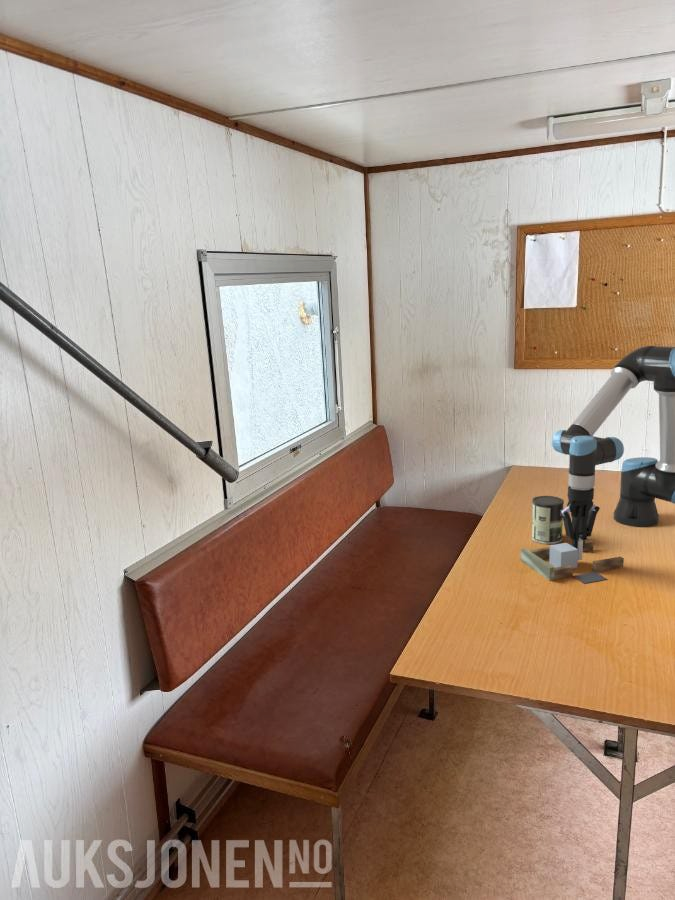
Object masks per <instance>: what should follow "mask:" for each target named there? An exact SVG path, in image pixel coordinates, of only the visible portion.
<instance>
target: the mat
mask: <svg viewBox="0 0 675 900" xmlns="http://www.w3.org/2000/svg"><path fill="white" fill-rule="evenodd" d="M572 577H573V578H574V579H575V580H578V582H581V583H582V584H589V583H595V582H601V581H607V580H608V578H607V577H605V576H603V575H602V574H600V573H599V572H594V571H592V572H587V573H581V574H574V575H573V576H572Z"/></svg>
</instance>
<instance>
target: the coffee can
mask: <svg viewBox="0 0 675 900" xmlns="http://www.w3.org/2000/svg"><path fill="white" fill-rule="evenodd" d="M531 502H532V512H531V513H532V517H531V539H532V540H533V541H534V542H535V543H539V544H542V545H543V544H544V545H556V544H561V542H562V541H563V526H564V521H563V516H562V515H561V513H560V510H561V509H563V510H564V504H565V499H563V498H561V497H557V496H552V495H539V496H534V497H533V498H532V499H531Z"/></svg>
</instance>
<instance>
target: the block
mask: <svg viewBox="0 0 675 900" xmlns="http://www.w3.org/2000/svg"><path fill="white" fill-rule="evenodd" d="M571 545H572V544H570V543H568V542H562V543H557V544H549V547H550V556H549V558H548V559H549V562H548V563H549V564H550V565H552V566H553V567H554V568H557V567H563V566H569V565H570V566H572V567H573V569H577V568H578V561H579V560H578V549H576V548H575V547H573V546H571Z"/></svg>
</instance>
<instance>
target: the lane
mask: <svg viewBox="0 0 675 900" xmlns="http://www.w3.org/2000/svg"><path fill="white" fill-rule="evenodd" d="M594 542H595V541H592V540H585V547H584V548H583V553H587V552H591V551H594ZM549 556H550V546H549V547H547V546H546V547H542V548H535V549H527V548H521V549H520V561H521V563H524V564H525V565H526V566H528V567H529V568H531V569H532V570H533V571H535V572H536V573H538V574H540V575H541V576H542V577H543V578H545V579H546V580H548V581H554V580H559V579H566V578H570V577H571V578H572V577H573V576H574V575H573V574H574V568H573V567H572V566H570V565H569V566H563V567H557V568H556V567H554V566H553V565H551V564H550V563H549V562H547V561H545V560H546V559H549ZM544 559H545V560H544ZM624 561H625V559H624V557H623V556H616V557H611V558H610V557H609V558H605V559H599V560H592V569H591V570H592V572H597V573H600V572H604V571H605V572H606V571H610V570H616V569H617V570H618V569H622V568H624Z"/></svg>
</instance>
